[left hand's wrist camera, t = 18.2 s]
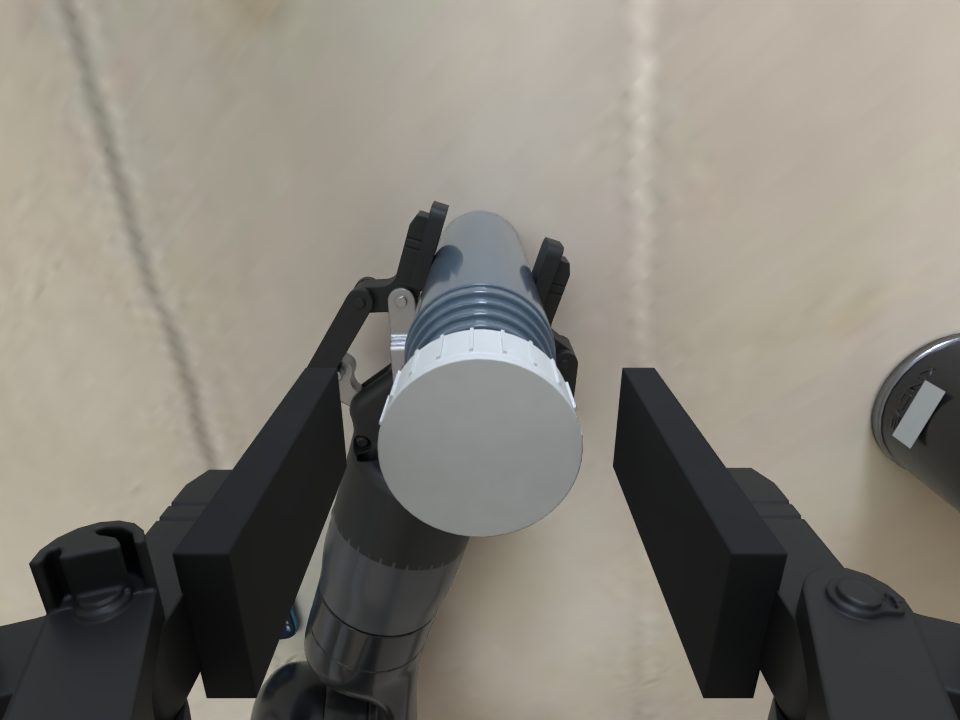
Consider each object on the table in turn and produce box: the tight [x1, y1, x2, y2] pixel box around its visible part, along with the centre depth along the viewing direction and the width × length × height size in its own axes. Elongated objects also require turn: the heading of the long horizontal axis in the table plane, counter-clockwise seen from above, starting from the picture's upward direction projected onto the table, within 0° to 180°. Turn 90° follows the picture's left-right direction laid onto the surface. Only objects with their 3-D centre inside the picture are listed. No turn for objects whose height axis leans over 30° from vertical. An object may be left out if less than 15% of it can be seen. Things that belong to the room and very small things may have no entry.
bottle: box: [404, 211, 556, 366], centre depth 23 cm, size 5×5×21 cm
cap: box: [378, 328, 583, 537], centre depth 14 cm, size 5×5×2 cm
